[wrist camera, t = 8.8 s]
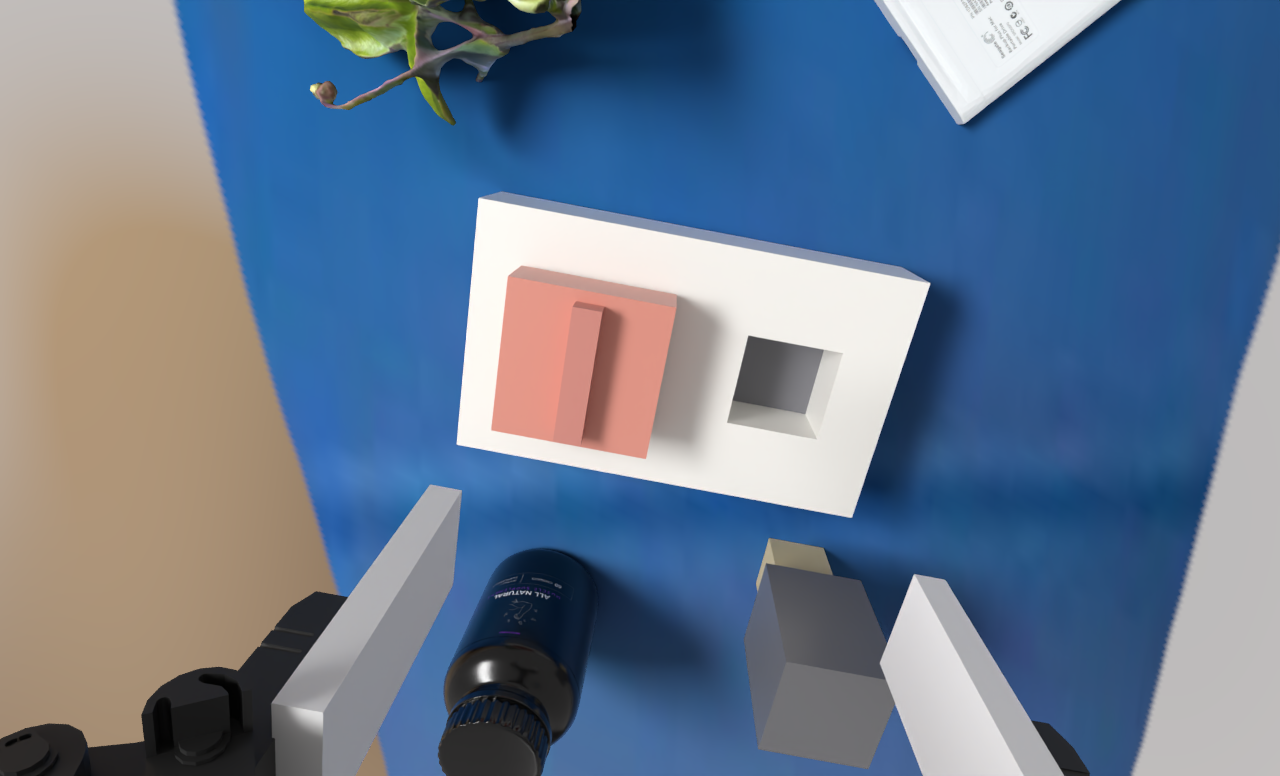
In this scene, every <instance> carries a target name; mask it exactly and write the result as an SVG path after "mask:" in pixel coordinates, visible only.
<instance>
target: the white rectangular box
mask: <svg viewBox="0 0 1280 776" xmlns="http://www.w3.org/2000/svg"><path fill="white" fill-rule="evenodd" d="M521 265H522V266H527V267H533V268H538V269H543V270H548V271H554V272H559V273H564V274H570V275H575V276H580V277H586V278H591V279H596V280H602V281H607V282H612V283H617V284H623V285H628V286H633V287H639V288H644V289H649V290H655V291H660V292H665V293H671V294H676V295H677V308H676V313H675V318H674V323H673V328H672V333H671V338H670V343H669V348H668V353H667V358H666V363H665V368H664V373H663V378H662V382H661V387H660V392H659V397H658V402H657V407H656V412H655V417H654V422H653V427H652V432H651V437H650V442H649V447H648V452H647V457H646V459H642V458H637V457H632V456H626V455H621V454H616V453H610V452H605V451H599V450H594V449H589V448H583V447H578V446H573V445H567V444H562V443H556V442H551V441H546V440H540V439H535V438H529V437H524V436H519V435H513V434H508V433H503V432H497V431H492V430H491V426H492V417H493V408H494V399H495V389H496V380H497V371H498V362H499V353H500V343H501V334H502V325H503V316H504V307H505V298H506V288H507V279H508V275H510V274H511V273H512V272H514V271H515V270H516V269H517V268H519V267H520V266H521ZM929 286H930V283H929V282H927V281H925V280H924V279H922V278H920V277H918V276H917V275H915V274H913V273H911V272H909V271H908V270H906V269H904V268H902V267H898V266H893V265H887V264H882V263H877V262H872V261H866V260H861V259H856V258H850V257H845V256H840V255H835V254H829V253H824V252H819V251H813V250H808V249H803V248H798V247H792V246H787V245H782V244H777V243H771V242H766V241H761V240H755V239H750V238H745V237H740V236H734V235H729V234H724V233H718V232H713V231H708V230H703V229H697V228H692V227H687V226H681V225H676V224H671V223H666V222H660V221H655V220H650V219H645V218H639V217H634V216H629V215H623V214H618V213H613V212H608V211H602V210H597V209H592V208H586V207H581V206H576V205H571V204H565V203H560V202H555V201H549V200H544V199H539V198H534V197H528V196H523V195H518V194H512V193H507V192H498V193H494V194H491V195H487V196H484V197H480V198H479V201H478V212H477V224H476V235H475V246H474V257H473V268H472V279H471V291H470V302H469V313H468V324H467V335H466V346H465V358H464V369H463V380H462V391H461V402H460V413H459V425H458V436H457V445H462V446H467V447H472V448H478V449H483V450H489V451H494V452H499V453H505V454H510V455H516V456H521V457H526V458H532V459H537V460H542V461H548V462H553V463H559V464H564V465H569V466H575V467H580V468H586V469H591V470H596V471H602V472H607V473H613V474H618V475H623V476H629V477H634V478H639V479H645V480H650V481H656V482H661V483H666V484H672V485H677V486H683V487H688V488H693V489H699V490H704V491H710V492H715V493H720V494H726V495H731V496H737V497H742V498H747V499H753V500H758V501H763V502H769V503H774V504H780V505H785V506H790V507H796V508H801V509H807V510H812V511H817V512H823V513H828V514H834V515H839V516H844V517H850V518H852V516H853V513H854V510H855V507H856V504H857V501H858V498H859V495H860V492H861V489H862V486H863V483H864V480H865V477H866V474H867V471H868V468H869V465H870V462H871V459H872V456H873V453H874V450H875V447H876V444H877V441H878V438H879V435H880V432H881V429H882V426H883V423H884V420H885V417H886V415H887V412H888V409H889V406H890V403H891V400H892V397H893V394H894V391H895V388H896V385H897V382H898V379H899V376H900V373H901V370H902V367H903V364H904V361H905V358H906V355H907V352H908V349H909V346H910V343H911V340H912V337H913V334H914V331H915V328H916V325H917V322H918V319H919V316H920V313H921V310H922V307H923V304H924V301H925V298H926V295H927V292H928V289H929Z"/></svg>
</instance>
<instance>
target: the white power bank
mask: <svg viewBox="0 0 1280 776" xmlns="http://www.w3.org/2000/svg"><path fill="white" fill-rule="evenodd" d="M874 1H875V2H876V4H877V5H878V7H879V8H880V10H881V11H882V13H883V14H884V16H885V17H886V19H887V20H888V22H889V23H890V25H891V26H892V27H893V29H894V30H895V32H896V33H897V35H898V36H899V37H901V38H902V39H903V40H904V42H905V43H906V45H907V46H908V48H909V49H910V51H911V52H912V54H913V55H914V57H915V58H916V60H917V64H918V66H919V68H920V69H921V71H922V72H923V74H924V75H925V77H926V78H927V80H928V81H929V83H930V84H931V86H932V87H933V89H934V90H935V92H936V93H937V95H938V96H939V98H940V99H941V101H942V102H943V104H944V105H945V107H946V108H947V110H948V111H949V113H950V114H951V116H952V117H953V119H954V120H955V122H956V123H957V124H965V123H966V122H968V121H969V120H970V119H971V118H973V117H974V116H975V115H976V114H978V113H979V112H980V111H981V110H983V109H984V108H985V107H986V106H988V105H989V104H990V103H991V102H993V101H994V100H995V99H997V98H998V97H999V96H1001V95H1002V94H1003V93H1004V92H1006V91H1007V90H1008V89H1009V88H1011V87H1012V86H1013V85H1014V84H1016V83H1017V82H1018V81H1020V80H1021V79H1022V78H1023V77H1025V76H1026V75H1027V74H1029V73H1030V72H1031V71H1032V70H1034V69H1035V68H1036V67H1037V66H1039V65H1040V64H1041V63H1043V62H1044V61H1045V60H1046V59H1047V58H1049V57H1050V56H1051V55H1053V54H1054V53H1055V52H1056V51H1058V50H1059V49H1060V48H1061V47H1063V46H1064V45H1065V44H1066V43H1068V42H1069V41H1070V40H1071V39H1073V38H1074V37H1075V36H1077V35H1078V34H1079V33H1080V32H1082V31H1083V30H1084V29H1085V28H1087V27H1088V26H1089V25H1090V24H1092V23H1093V22H1094V21H1095V20H1097V19H1098V18H1099V17H1101V16H1102V15H1103V14H1104V13H1106V12H1107V11H1108V10H1109V9H1111V8H1112V7H1113V6H1114V5H1116V4H1117V3H1118V2H1119V1H1121V0H874Z"/></svg>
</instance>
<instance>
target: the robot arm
mask: <svg viewBox="0 0 1280 776" xmlns="http://www.w3.org/2000/svg"><path fill="white" fill-rule="evenodd" d="M461 494H462V490H457V489H451V488H446V487H440V486H435V485H430V486H429V487H428V488H427V490H426V491H425V493H424V494H423V495H422V497H421V498H420V499H419V501H418V502H417V504H416V505H415V506H414V508H413V509H412V510H411V512H410V513H409V515H408V516H407V517H406V519H405V520H404V521H403V523H402V524H401V526H400V527H399V528H398V530H397V531H396V532H395V534H394V535H393V537H392V538H391V539H390V541H389V542H388V543H387V545H386V546H385V548H384V549H383V550H382V552H381V553H380V554H379V556H378V557H377V559H376V560H375V561H374V563H373V564H372V565H371V567H370V568H369V570H368V571H367V572H366V574H365V575H364V576H363V578H362V579H361V581H360V582H359V583H358V585H357V586H356V587H355V589H354V590H353V592H352V593H351V594H350V596H349V597H344V596H339V595H333V594H327V593H322V592H314V593H313V594H311V595H310V596H308V597H307V598H305V599H303V600H302V601H300V602H298V603H297V604H295V605H293V606H292V607H291V608H290V609H289V610H288V612H287V613H286V614H285V615H284V616H283V617H282V619H281V620H280V621H279V623H277V625H276V626H275V629H274V631H273V630H272V631H271V632H270V633H269V634H268V636H267V637H266V638H265V639H264V640H263V641H262V643H261V646H260V647H257V649H256V650H255V651H254V652H253V654H252V655H251V656H250V657H249V658H248V659H247V661H246V662H245V663H244V664H243V666H242V667H241V668H240V669H239V670H238V671H237V670H233V669H228V668H223V667H212V668H202V669H197V670H194V671H191V672H188V673H185V674H182V675H179V676H177V677H176V678H174V679H172V680H171V681H169V682H167V683H166V684H164V685H162V686H161V687H160V688H159V689H158V690H157V691H156V692H155V693H154V694H153V695H152V696H151V697H150V698H149V699H148V700H147V703H146V705H145V708H144V710H143V713H142V724H143V733H144V741H143V742H137V743H130V744H120V745H110V746H99V747H90V748H88V746H87V742H86V739H85V738H84V735H83V733H82V731H80V730H78V729H76V728H74V727H72V726H70V725H66V724H45V725H40V726H35V727H30V728H25V729H23V730H20V731H18V732H15V733H13V734H11V735H8V736H6V737H3V738H1V739H0V776H355V775H356V773H357V771H358V769H359V767H360V765H361V763H362V761H363V759H364V757H365V756H366V754H367V752H368V750H369V748H370V745H371V744H372V742H373V740H374V738H375V736H376V734H377V732H378V730H379V728H380V726H381V724H382V722H383V720H384V718H385V716H386V715H387V713H388V711H389V709H390V707H391V705H392V703H393V701H394V699H395V697H396V695H397V693H398V691H399V689H400V687H401V685H402V683H403V681H404V679H405V677H406V675H407V673H408V672H409V670H410V668H411V666H412V664H413V662H414V660H415V658H416V656H417V654H418V652H419V650H420V648H421V646H422V644H423V642H424V640H425V638H426V636H427V634H428V632H429V630H430V629H431V627H432V625H433V623H434V621H435V619H436V617H437V615H438V613H439V611H440V609H441V607H442V605H443V603H444V601H445V599H446V597H447V595H448V593H449V591H450V589H451V587H452V586H453V578H454V568H455V557H456V547H457V536H458V526H459V515H460V504H461ZM880 665H881V668H882V670H883V673H884V676H885V678H886V681H887V683H888V686H889V689H890V691H891V694H892V696H893V699H894V702H895V704H896V707H897V709H898V712H899V715H900V717H901V720H902V722H903V725H904V728H905V730H906V733H907V735H908V738H909V741H910V743H911V746H912V748H913V751H914V754H915V756H916V759H917V761H918V764H919V767H920V769H921V772H922V774H923V776H1090V775H1089V774H1090V773H1089V771H1088V770H1087V768H1086V767H1085V765H1084V763H1083V762H1082V760H1081V759H1080V757H1079V756H1078V754H1077V753H1076V751H1075V750H1074V748H1073V747H1072V746H1071V745H1070V744H1069V743H1068V742H1067V741H1066V740H1065V739H1064V738H1063V737H1062V736H1061V735H1060V734H1059V733H1058V732H1057V731H1056V730H1055V729H1054V728H1053V727H1052V726H1050V725H1049V724H1047V723H1042V722H1036V721H1031V720H1030V718H1029V717H1028V715H1027V713H1026V712H1025V710H1024V709H1023V707H1022V705H1021V704H1020V702H1019V700H1018V699H1017V697H1016V695H1015V694H1014V692H1013V690H1012V689H1011V687H1010V686H1009V684H1008V682H1007V681H1006V679H1005V677H1004V676H1003V674H1002V672H1001V671H1000V669H999V667H998V666H997V664H996V662H995V661H994V659H993V658H992V656H991V654H990V653H989V651H988V649H987V648H986V646H985V644H984V643H983V641H982V639H981V638H980V636H979V634H978V633H977V631H976V630H975V628H974V626H973V625H972V623H971V621H970V620H969V618H968V616H967V615H966V613H965V611H964V610H963V608H962V606H961V605H960V603H959V602H958V600H957V598H956V597H955V595H954V593H953V592H952V590H951V588H950V587H949V585H948V583H947V582H946V580H943V579H938V578H933V577H927V576H922V575H916V574H914V576H913V578H912V581H911V584H910V586H909V589H908V591H907V594H906V597H905V599H904V602H903V604H902V607H901V609H900V612H899V615H898V617H897V620H896V622H895V625H894V628H893V630H892V633H891V635H890V638H889V640H888V643H887V646H886V648H885V651H884V653H883V656H882V659H881V661H880Z"/></svg>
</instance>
